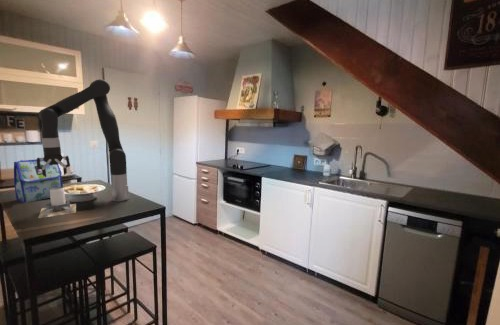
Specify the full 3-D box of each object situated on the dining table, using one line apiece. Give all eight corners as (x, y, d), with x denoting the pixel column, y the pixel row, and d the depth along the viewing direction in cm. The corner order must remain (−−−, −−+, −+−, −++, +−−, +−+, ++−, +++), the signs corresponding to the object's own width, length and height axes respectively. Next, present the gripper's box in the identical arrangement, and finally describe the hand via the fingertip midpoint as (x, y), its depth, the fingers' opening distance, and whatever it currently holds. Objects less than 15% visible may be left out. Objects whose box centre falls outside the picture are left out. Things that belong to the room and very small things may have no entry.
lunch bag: (24, 205, 154) (19, 162, 150) (14, 200, 162) (9, 160, 158) (66, 196, 172) (62, 158, 168) (55, 192, 181) (51, 156, 177)
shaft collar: (72, 204, 151) (71, 199, 151) (71, 212, 138) (71, 207, 137) (45, 207, 145) (45, 202, 144) (42, 217, 131) (42, 211, 130)
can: (54, 207, 146) (51, 186, 144) (67, 206, 148) (65, 186, 146) (49, 211, 140) (47, 189, 138) (64, 209, 142) (61, 188, 140)
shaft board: (76, 206, 153) (75, 203, 153) (76, 215, 138) (75, 212, 138) (42, 210, 144) (41, 208, 144) (38, 221, 129) (37, 218, 129)
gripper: (67, 145, 145) (71, 173, 148) (35, 146, 137) (39, 175, 140) (67, 146, 139) (70, 175, 142) (33, 147, 131) (37, 178, 134)
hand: (55, 175), depth 141 cm, fingers open, 8 cm apart
